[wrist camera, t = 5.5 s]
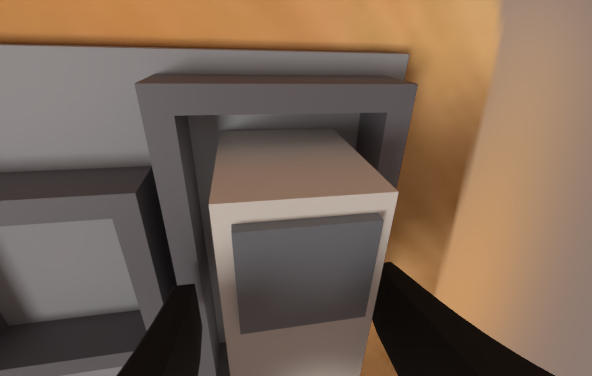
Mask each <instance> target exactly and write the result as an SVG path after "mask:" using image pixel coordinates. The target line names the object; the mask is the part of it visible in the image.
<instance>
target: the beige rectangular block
mask: <svg viewBox="0 0 592 376" xmlns="http://www.w3.org/2000/svg"><path fill="white" fill-rule="evenodd" d="M398 193H399V192H398V191H397V190H396V189H395V188H394V187H393V186H392V185H391V184H390V183H389V182H388V181H387V180H386V179H385V178H384V177H383V176H382V175H381V174H380V173H379V172H378V171H377V170H375V169H374V168H373V167H372V166H371V165H370V164H369V163H368V162H367V161H366V160H365V159H364V158H363V157H362V156H361V155H360V154H359V153H358V152H357V151H356V150H355V149H354V148H353V147H351V146H350V145H349V144H348V143H347V142H346V141H345V140H344V139H343V138H342V137H341V136H340V135H339V134H338V133H337V132H336V131H335V130H334V129H333V128H321V129H281V130H241V131H220V135H219V141H218V147H217V154H216V160H215V166H214V173H213V179H212V185H211V192H210V198H209V212H210V220H211V228H212V236H213V244H214V252H215V260H216V268H217V275H218V283H219V291H220V299H221V307H222V315H223V323H224V331H225V339H226V346H227V354H228V362H229V370H230V376H360V373H361V368H362V364H363V359H364V354H365V349H366V345H367V340H368V335H369V330H370V326H371V321H372V316H373V311H374V307H375V302H376V297H377V292H378V288H379V283H380V278H381V274H382V269H383V264H384V259H385V255H386V250H387V245H388V240H389V236H390V231H391V226H392V221H393V217H394V212H395V207H396V202H397V198H398Z"/></svg>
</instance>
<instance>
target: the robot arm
mask: <svg viewBox="0 0 592 376" xmlns="http://www.w3.org/2000/svg"><path fill="white" fill-rule="evenodd" d="M372 320H373V323H374V326H375V329H376V331H377V334H378V336H379V338H380V340H381V342H382V344H383V346H384V348H385V350H386V352H387V354H388V356H389V358H390V360H391V362H392V364H393V366H394V368H395V370H396V372H397V374H398V376H555V375H553V374H551V373H549V372H547V371H545V370H544V369H542V368H540V367H538V366H537V365H535V364H533V363H531V362H530V361H528V360H526V359H525V358H523V357H521V356H520V355H518V354H516V353H515V352H513V351H512V350H510V349H508V348H507V347H505V346H504V345H502V344H501V343H499V342H497V341H496V340H494V339H493V338H491V337H490V336H488V335H486V334H485V333H483V332H482V331H481V330H479V329H478V328H476V327H475V326H474V325H472V324H471V323H469V322H468V321H466V320H465V319H464V318H462V317H461V316H459V315H458V314H457V313H455V312H454V311H453V310H451V309H450V308H448V307H447V306H446V305H445V304H443V303H442V302H441V301H439V300H438V299H437V298H436V297H434V296H433V295H432V294H431V293H429V292H428V291H427V290H425V289H424V288H423V287H422V286H420V285H419V284H418V283H417V282H415V281H414V280H413V279H412V278H411V277H409V276H408V275H407V274H406V273H404V272H403V271H402V270H401V269H399V268H398V267H397V266H395V265H394V264H393V263H392V262H386V263H384V264H383V269H382V274H381V278H380V283H379V288H378V292H377V297H376V302H375V307H374V311H373V316H372ZM201 343H202V321H201V316H200V310H199V304H198V298H197V293H196V287H195V284H186V285H177V286H174V287H173V288H172V289H171V291H170V293H169V295H168V297H167V298H166V300H165V302H164V304H163V306H162V307H161V309H160V311H159V312H158V314H157V316H156V317H155V319H154V321H153V322H152V324H151V325H150V327H149V329H148V330H147V332H146V333H145V335H144V336H143V338H142V339H141V341H140V342H139V344H138V346H137V347H136V349H135V350H134V352H133V353H132V355H131V356H130V357H129V359H128V360H127V362H126V363H125V364H124V366H123V367H122V369H121V370H120V371H119V373H118V374H117V376H198V372H199V365H200V358H201Z"/></svg>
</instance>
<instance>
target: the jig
mask: <svg viewBox="0 0 592 376" xmlns="http://www.w3.org/2000/svg"><path fill="white" fill-rule="evenodd" d="M408 58H409V54H403V53H387V52H344V51H300V50H256V49H213V48H169V47H126V46H82V45H39V44H0V376H117V374H118V373H119V371H120V370H121V369H122V367H123V366H124V364H125V363H126V362H127V360H128V359H129V357H130V356H131V355H132V353H133V352H134V350H135V349H136V347H137V346H138V344H139V342H140V341H141V339H142V338H143V336H144V335H145V333H146V332H147V330H148V329H149V327H150V325H151V324H152V322H153V321H154V319H155V317H156V316H157V314H158V312H159V311H160V309H161V307H162V306H163V304H164V302H165V300H166V298H167V297H168V295H169V293H170V291H171V289H172V288H173V287H174V286H177V285H186V284H195V287H196V293H197V298H198V304H199V310H200V316H201V321H202V343H201V358H200V365H199V372H198V376H230V370H229V362H228V354H227V346H226V339H225V331H224V323H223V315H222V307H221V299H220V291H219V283H218V275H217V268H216V260H215V252H214V244H213V236H212V228H211V220H210V212H209V198H210V192H211V185H212V179H213V173H214V166H215V160H216V154H217V147H218V141H219V135H220V131H241V130H281V129H321V128H333V129H334V130H335V131H336V132H337V133H338V134H339V135H340V136H341V137H342V138H343V139H344V140H345V141H346V142H347V143H348V144H349V145H350V146H351V147H353V148H354V149H355V150H356V151H357V152H358V153H359V154H360V155H361V156H362V157H363V158H364V159H365V160H366V161H367V162H368V163H369V164H370V165H371V166H372V167H373V168H374V169H375V170H377V171H378V172H379V173H380V174H381V175H382V176H383V177H384V178H385V179H386V180H387V181H388V182H389V183H390V184H391V185H392V186H393V187H394V188H395V189H396V188H397V183H398V178H399V173H400V168H401V164H402V159H403V154H404V149H405V144H406V139H407V135H408V130H409V125H410V120H411V115H412V110H413V106H414V101H415V96H416V91H417V86H418V84H415V83H411V82H408V81H404V80H405V75H406V69H407V64H408Z"/></svg>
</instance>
